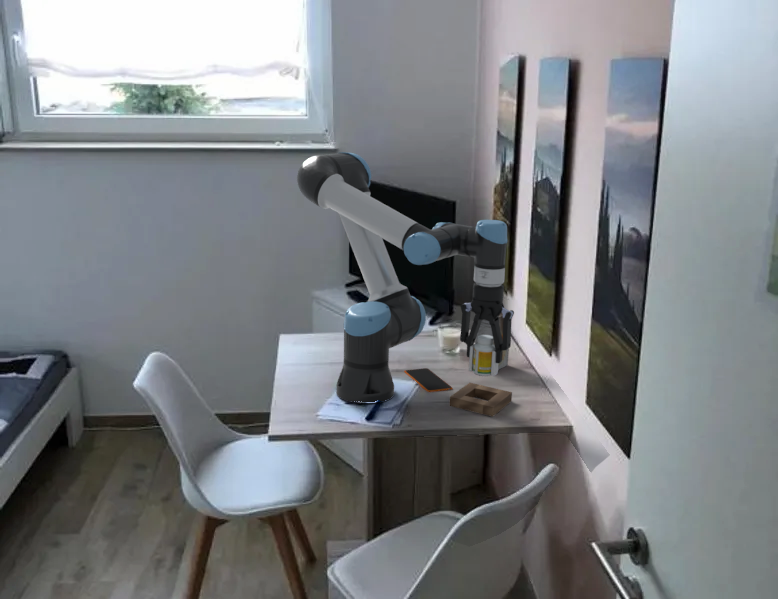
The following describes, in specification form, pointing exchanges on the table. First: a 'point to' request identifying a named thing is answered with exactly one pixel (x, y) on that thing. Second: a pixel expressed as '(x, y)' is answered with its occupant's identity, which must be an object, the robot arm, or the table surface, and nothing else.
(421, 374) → the smartphone
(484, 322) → the coffee box
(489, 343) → the supplement bottle
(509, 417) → the table surface
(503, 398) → the holder block
